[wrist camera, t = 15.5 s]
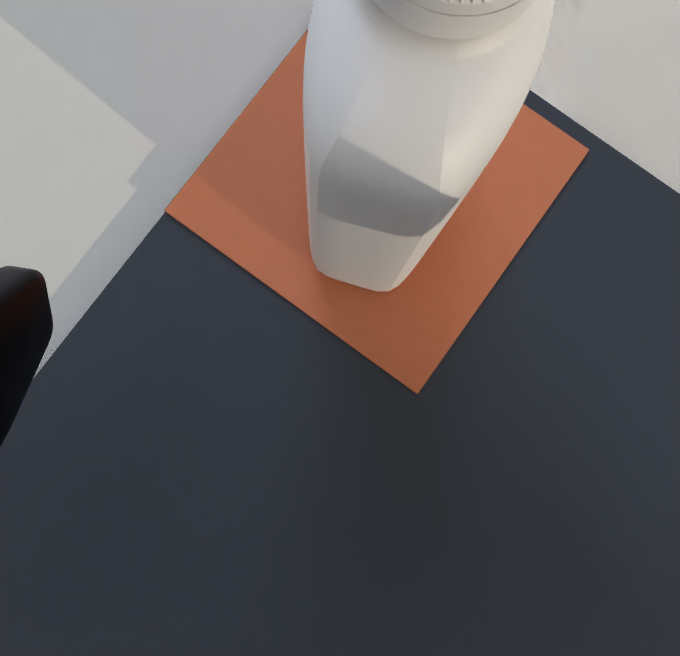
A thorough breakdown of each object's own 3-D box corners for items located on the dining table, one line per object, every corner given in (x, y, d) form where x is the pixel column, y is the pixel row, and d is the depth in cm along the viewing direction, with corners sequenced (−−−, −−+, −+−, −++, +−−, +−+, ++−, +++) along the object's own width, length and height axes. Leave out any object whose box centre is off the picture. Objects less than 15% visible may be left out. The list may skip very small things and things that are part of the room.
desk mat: (966, 400, 17) (982, 400, 16) (480, 1237, 14) (484, 1261, 14) (356, -24, 17) (357, -34, 17) (-210, 692, 15) (-224, 700, 14)
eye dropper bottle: (245, 200, 16) (39, -361, 4) (398, 60, 17) (595, -778, 5) (363, 321, 16) (494, 82, 4) (515, 174, 16) (1025, -416, 5)
